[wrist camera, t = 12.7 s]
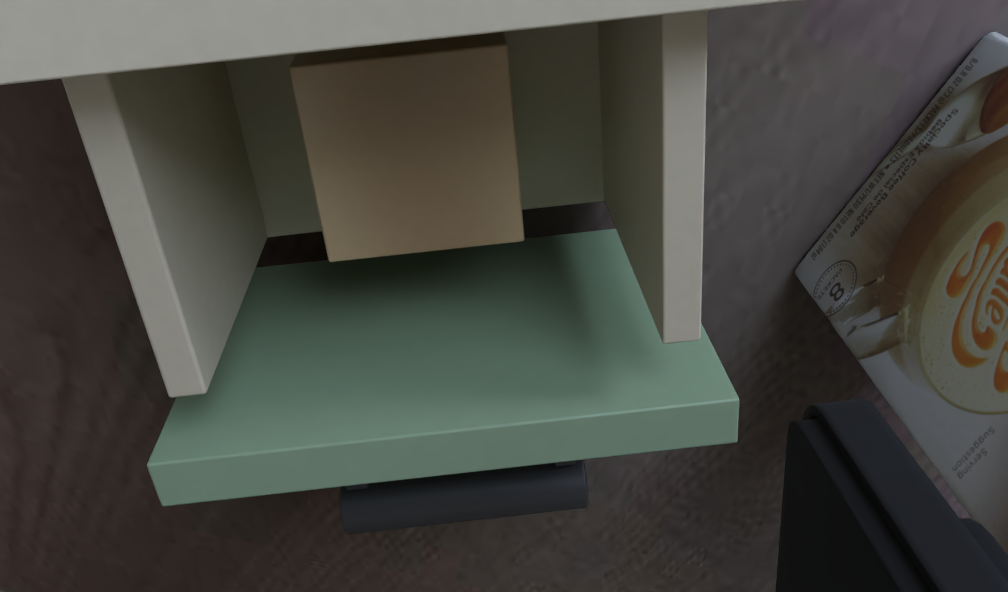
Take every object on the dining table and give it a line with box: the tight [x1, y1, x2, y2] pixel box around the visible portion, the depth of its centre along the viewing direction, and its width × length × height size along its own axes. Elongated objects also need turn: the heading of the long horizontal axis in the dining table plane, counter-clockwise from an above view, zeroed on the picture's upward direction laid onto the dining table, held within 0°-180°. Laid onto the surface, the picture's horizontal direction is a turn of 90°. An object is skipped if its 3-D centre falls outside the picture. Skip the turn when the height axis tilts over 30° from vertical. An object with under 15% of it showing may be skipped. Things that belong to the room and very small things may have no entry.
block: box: [288, 32, 524, 262], centre depth 21 cm, size 4×4×4 cm
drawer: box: [62, 10, 739, 534], centre depth 21 cm, size 19×13×9 cm, turn 5°
